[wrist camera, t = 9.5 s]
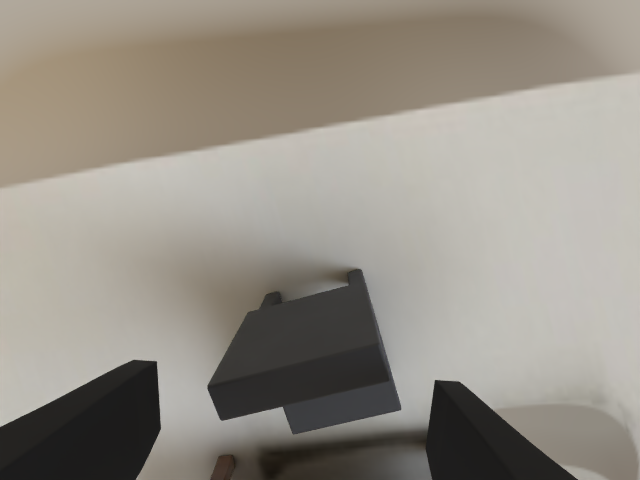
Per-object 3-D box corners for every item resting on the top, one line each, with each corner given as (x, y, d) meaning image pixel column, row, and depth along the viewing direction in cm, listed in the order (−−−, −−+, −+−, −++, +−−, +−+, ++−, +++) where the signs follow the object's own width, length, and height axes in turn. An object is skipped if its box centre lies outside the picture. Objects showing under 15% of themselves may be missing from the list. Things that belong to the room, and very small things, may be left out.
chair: (299, 392, 19) (274, 555, 11) (261, 286, 18) (205, 386, 10) (391, 370, 19) (432, 524, 11) (359, 259, 17) (380, 343, 10)
